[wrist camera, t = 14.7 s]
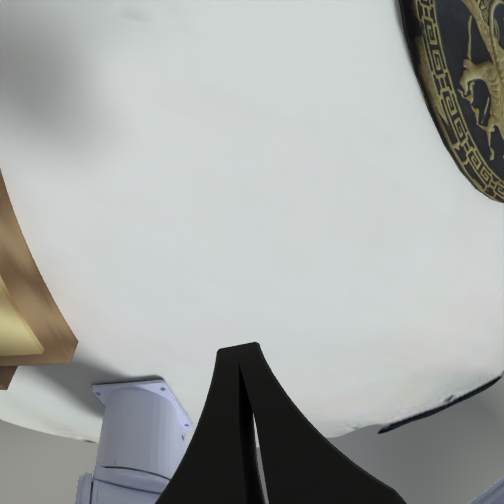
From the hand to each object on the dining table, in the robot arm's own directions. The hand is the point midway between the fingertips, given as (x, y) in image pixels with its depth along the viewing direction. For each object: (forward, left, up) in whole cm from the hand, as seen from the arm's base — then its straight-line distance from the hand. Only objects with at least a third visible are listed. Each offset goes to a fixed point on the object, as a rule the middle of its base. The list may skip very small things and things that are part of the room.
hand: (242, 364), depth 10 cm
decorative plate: (+13, -29, -11) cm, 34 cm away
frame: (+1, +19, -11) cm, 22 cm away
